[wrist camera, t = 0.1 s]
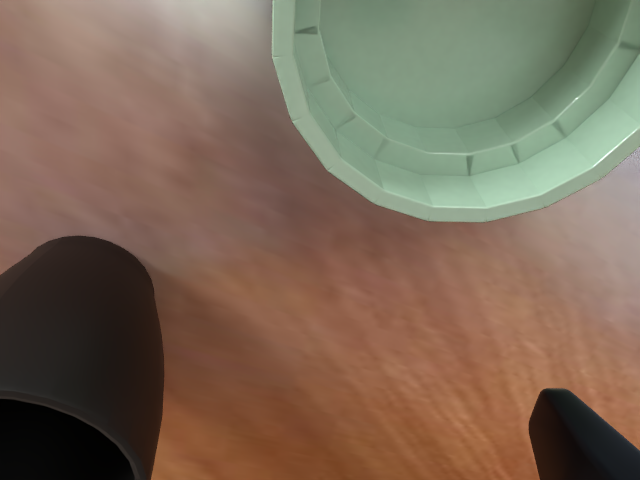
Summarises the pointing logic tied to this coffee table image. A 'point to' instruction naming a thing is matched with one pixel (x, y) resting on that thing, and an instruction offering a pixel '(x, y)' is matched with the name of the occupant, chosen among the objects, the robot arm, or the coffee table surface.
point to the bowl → (462, 98)
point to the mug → (79, 364)
